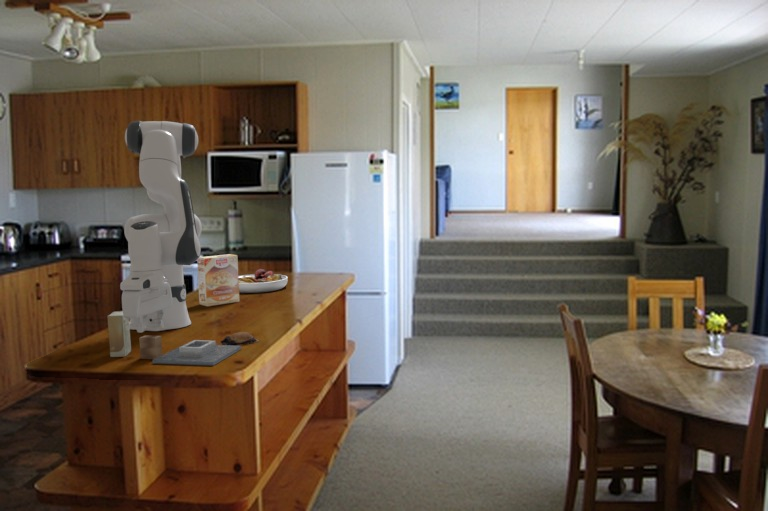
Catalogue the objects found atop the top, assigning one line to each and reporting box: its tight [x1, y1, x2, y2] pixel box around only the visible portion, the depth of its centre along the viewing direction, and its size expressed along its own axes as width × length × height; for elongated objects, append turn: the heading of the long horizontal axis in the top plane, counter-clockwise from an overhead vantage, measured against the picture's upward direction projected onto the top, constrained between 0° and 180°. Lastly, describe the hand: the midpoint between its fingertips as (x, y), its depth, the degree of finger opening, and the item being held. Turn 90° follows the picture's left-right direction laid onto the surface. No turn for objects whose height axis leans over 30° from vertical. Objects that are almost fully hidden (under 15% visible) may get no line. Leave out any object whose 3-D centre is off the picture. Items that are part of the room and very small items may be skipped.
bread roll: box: [220, 331, 261, 346], centre depth 206 cm, size 11×8×4 cm
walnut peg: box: [138, 335, 163, 360], centre depth 190 cm, size 5×3×6 cm, turn 78°
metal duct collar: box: [152, 339, 242, 367], centre depth 191 cm, size 18×18×4 cm
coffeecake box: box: [196, 253, 240, 307], centre depth 274 cm, size 15×7×20 cm, turn 131°
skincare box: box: [107, 310, 132, 358], centre depth 194 cm, size 6×4×12 cm
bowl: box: [238, 268, 289, 294], centre depth 311 cm, size 30×30×8 cm
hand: (150, 328), depth 189 cm, fingers open, 8 cm apart
